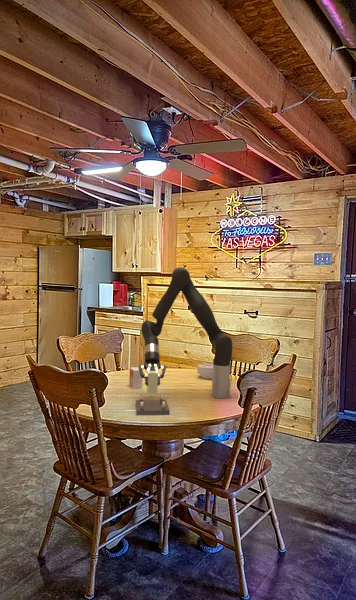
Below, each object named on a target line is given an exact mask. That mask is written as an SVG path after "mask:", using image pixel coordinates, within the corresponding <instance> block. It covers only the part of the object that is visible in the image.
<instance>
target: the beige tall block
mask: <svg viewBox="0 0 356 600" xmlns="http://www.w3.org/2000/svg"><path fill="white" fill-rule="evenodd" d="M146 387H147V388H146V393H147V395H158V387H159V386H158V372H157V371H148V386H146Z"/></svg>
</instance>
